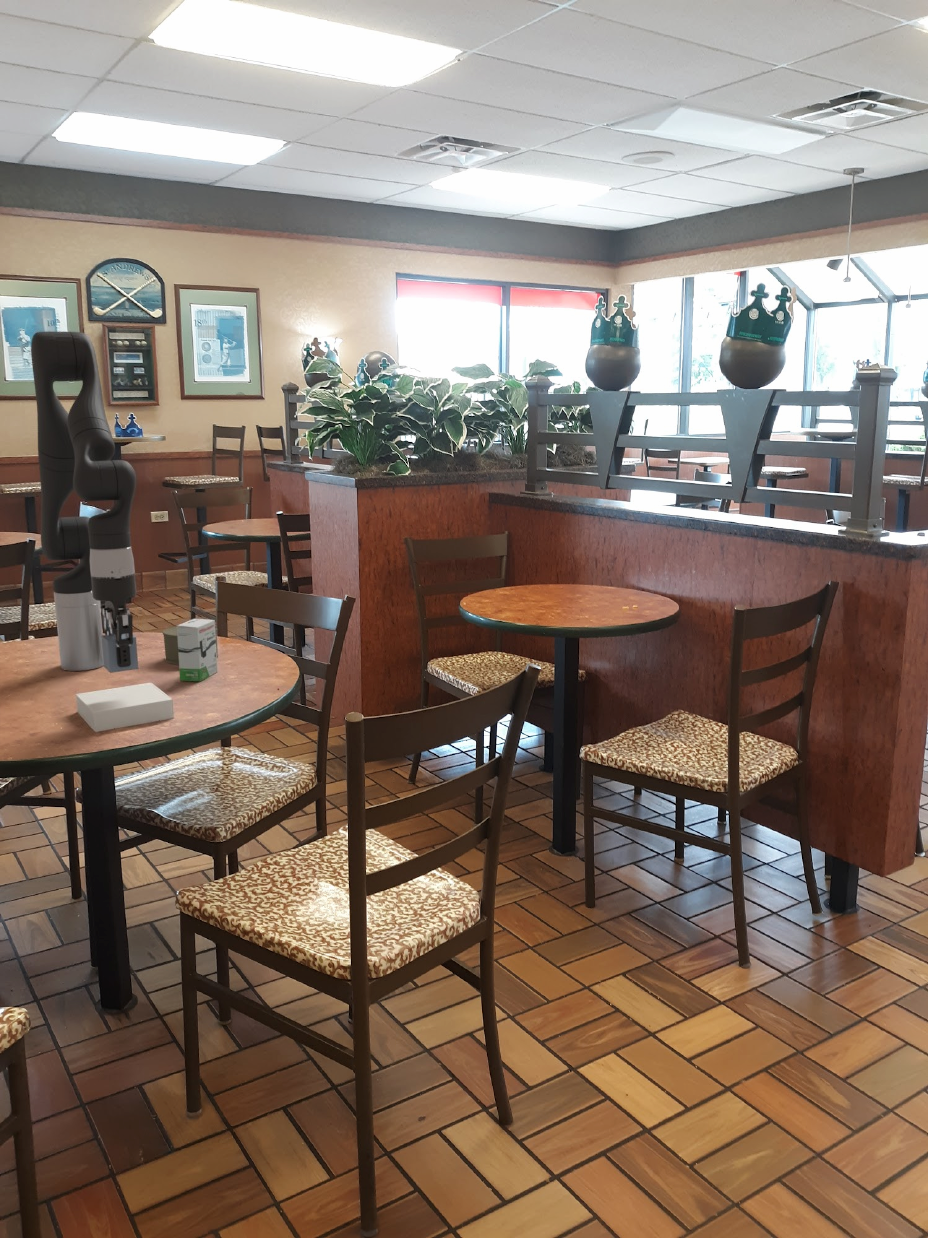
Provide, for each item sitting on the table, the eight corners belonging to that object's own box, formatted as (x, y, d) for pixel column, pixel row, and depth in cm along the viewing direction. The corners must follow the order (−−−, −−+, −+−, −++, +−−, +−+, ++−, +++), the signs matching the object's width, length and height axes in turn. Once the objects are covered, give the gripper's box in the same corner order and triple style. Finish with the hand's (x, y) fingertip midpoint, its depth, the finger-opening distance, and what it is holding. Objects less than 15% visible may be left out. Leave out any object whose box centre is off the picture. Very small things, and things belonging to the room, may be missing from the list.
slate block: (104, 667, 179) (101, 635, 178) (131, 663, 182) (129, 632, 180) (110, 672, 175) (107, 640, 174) (138, 668, 177) (135, 637, 176)
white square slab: (77, 714, 182) (75, 694, 181) (152, 702, 190) (151, 682, 189) (95, 734, 171) (93, 712, 170) (174, 720, 178) (172, 699, 177)
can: (162, 667, 214) (160, 636, 213) (166, 654, 226) (164, 625, 224) (218, 663, 217) (216, 633, 216) (219, 651, 228) (217, 622, 227)
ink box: (200, 682, 202) (196, 626, 199) (178, 681, 203) (174, 626, 200) (219, 671, 210) (215, 618, 207) (198, 670, 211) (194, 617, 208)
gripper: (82, 569, 178) (91, 658, 182) (100, 579, 167) (108, 674, 170) (124, 565, 182) (131, 652, 186) (144, 575, 170) (151, 668, 174)
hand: (120, 662), depth 178 cm, fingers closed on slate block, 5 cm apart
